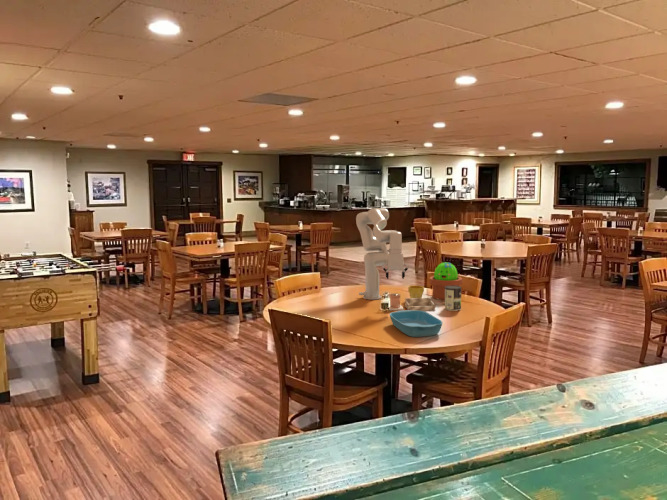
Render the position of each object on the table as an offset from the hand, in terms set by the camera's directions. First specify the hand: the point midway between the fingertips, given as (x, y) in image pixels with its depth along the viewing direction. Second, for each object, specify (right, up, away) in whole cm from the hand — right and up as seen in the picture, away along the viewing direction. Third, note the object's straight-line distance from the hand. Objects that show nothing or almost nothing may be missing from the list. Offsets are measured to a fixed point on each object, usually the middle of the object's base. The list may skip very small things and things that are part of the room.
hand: (395, 278), depth 331 cm
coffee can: (+36, -19, -1) cm, 41 cm away
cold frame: (+16, -19, +3) cm, 25 cm away
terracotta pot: (0, -18, +2) cm, 18 cm away
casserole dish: (+6, -26, -44) cm, 52 cm away
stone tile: (0, -19, +2) cm, 19 cm away
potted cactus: (+38, -15, +31) cm, 52 cm away
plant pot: (+16, -17, +22) cm, 32 cm away
